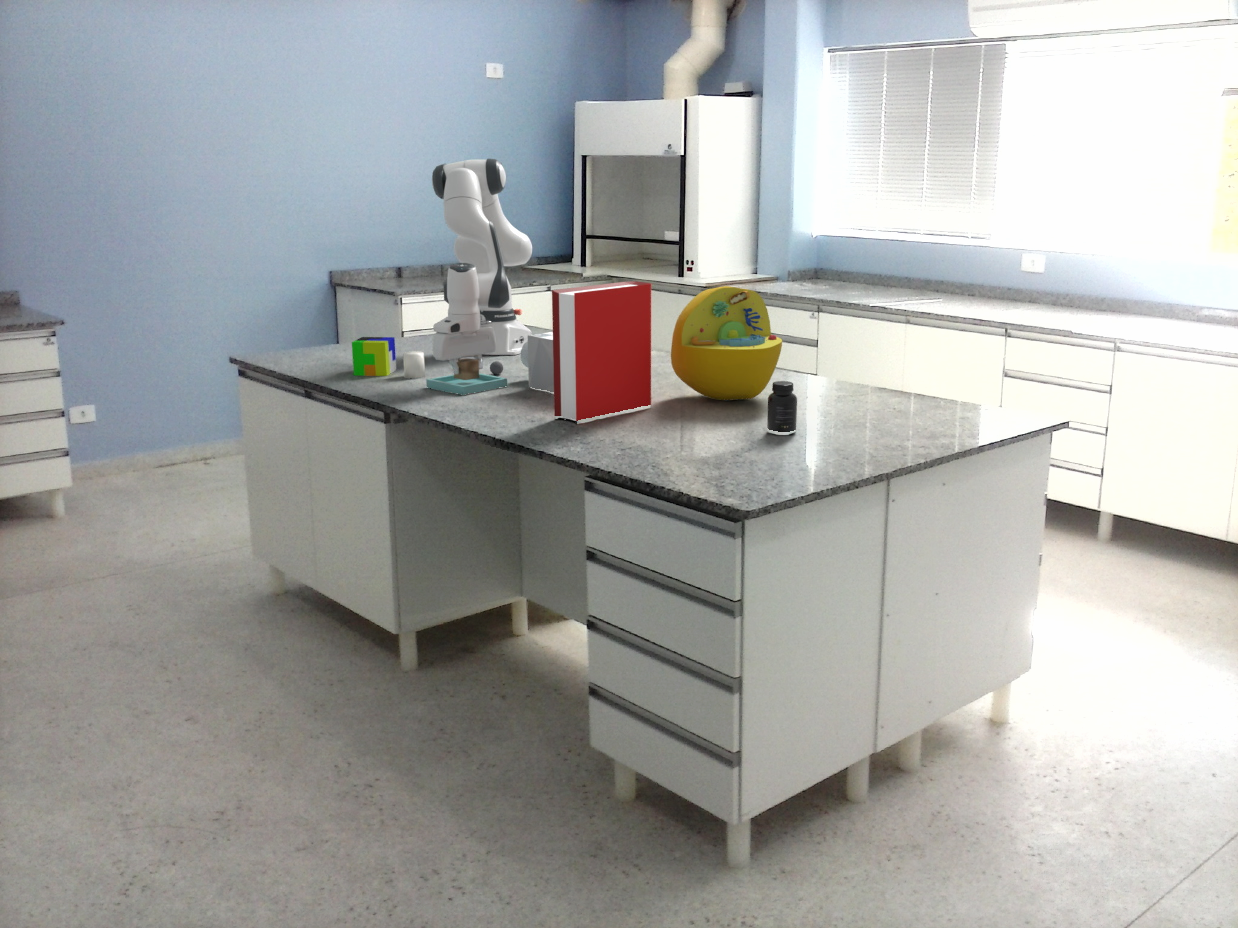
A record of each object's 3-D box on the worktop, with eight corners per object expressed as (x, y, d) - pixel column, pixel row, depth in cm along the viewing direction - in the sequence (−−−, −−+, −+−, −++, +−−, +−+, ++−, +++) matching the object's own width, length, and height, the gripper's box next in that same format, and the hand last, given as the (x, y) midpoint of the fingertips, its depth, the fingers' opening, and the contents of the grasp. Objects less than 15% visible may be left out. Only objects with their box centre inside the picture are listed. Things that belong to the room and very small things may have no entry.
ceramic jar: (416, 374, 350) (415, 350, 348) (429, 376, 346) (428, 353, 344) (400, 376, 346) (398, 353, 344) (412, 379, 342) (411, 355, 340)
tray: (470, 379, 341) (470, 371, 340) (507, 386, 330) (507, 378, 330) (426, 387, 330) (426, 379, 329) (463, 395, 319) (462, 387, 318)
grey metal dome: (473, 365, 363) (472, 356, 363) (487, 368, 359) (487, 358, 358) (455, 368, 358) (454, 359, 358) (469, 371, 354) (469, 361, 353)
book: (576, 425, 285) (574, 293, 277) (554, 419, 291) (551, 290, 282) (654, 407, 303) (654, 283, 295) (632, 403, 309) (632, 281, 300)
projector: (638, 392, 323) (638, 337, 319) (586, 402, 310) (585, 345, 306) (557, 375, 348) (556, 324, 344) (506, 383, 336) (504, 331, 332)
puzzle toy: (396, 370, 357) (394, 337, 354) (386, 376, 347) (384, 342, 344) (364, 369, 358) (362, 337, 355) (353, 375, 348) (351, 342, 345)
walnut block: (467, 375, 333) (467, 358, 331) (479, 377, 329) (478, 360, 328) (453, 378, 329) (453, 360, 328) (465, 380, 326) (464, 362, 324)
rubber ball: (497, 372, 351) (497, 359, 350) (506, 374, 348) (505, 361, 347) (487, 374, 348) (486, 361, 347) (496, 376, 345) (495, 363, 344)
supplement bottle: (764, 429, 279) (765, 380, 276) (792, 429, 280) (794, 379, 277) (770, 436, 273) (771, 386, 270) (799, 435, 273) (800, 385, 270)
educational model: (716, 417, 292) (718, 296, 284) (649, 396, 316) (649, 284, 308) (806, 403, 307) (810, 288, 299) (736, 384, 331) (738, 277, 323)
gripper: (485, 318, 334) (487, 365, 338) (428, 326, 320) (430, 375, 324) (500, 320, 330) (501, 368, 334) (442, 328, 316) (445, 378, 320)
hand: (466, 372), depth 329 cm, fingers closed on walnut block, 5 cm apart
